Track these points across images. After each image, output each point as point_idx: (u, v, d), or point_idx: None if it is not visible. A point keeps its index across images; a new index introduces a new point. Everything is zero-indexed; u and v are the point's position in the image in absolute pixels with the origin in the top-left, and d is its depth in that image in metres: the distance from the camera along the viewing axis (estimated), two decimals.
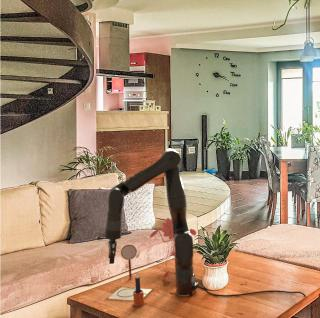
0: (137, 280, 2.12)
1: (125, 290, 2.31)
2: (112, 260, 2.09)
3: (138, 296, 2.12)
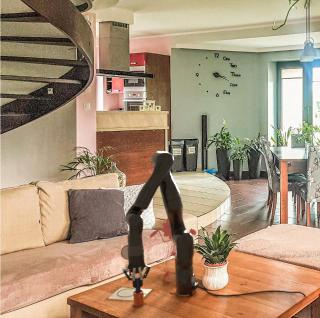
0: (137, 280, 2.12)
1: (125, 290, 2.31)
2: (142, 282, 2.14)
3: (138, 296, 2.12)
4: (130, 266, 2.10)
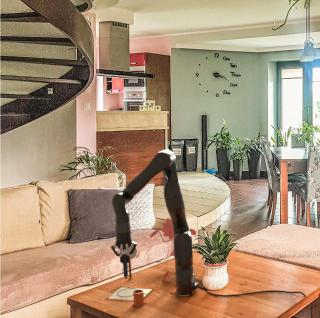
0: (124, 256, 2.27)
1: (125, 290, 2.31)
2: (129, 258, 2.29)
3: (138, 296, 2.12)
4: (118, 243, 2.25)
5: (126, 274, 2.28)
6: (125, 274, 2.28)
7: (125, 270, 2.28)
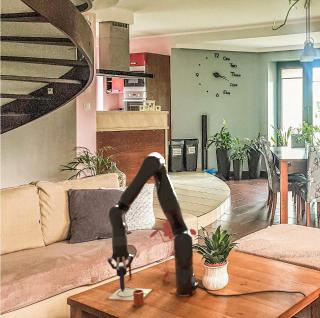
0: (121, 269, 2.24)
1: (125, 290, 2.31)
2: None
3: (138, 296, 2.12)
4: (114, 255, 2.22)
5: (123, 287, 2.25)
6: (122, 287, 2.25)
7: (122, 283, 2.25)
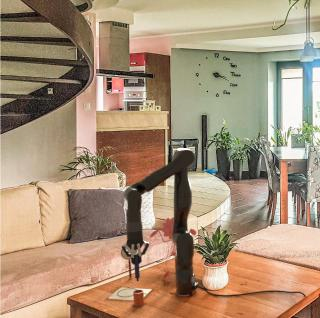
0: (136, 256, 2.11)
1: (125, 290, 2.31)
2: None
3: (138, 296, 2.12)
4: (129, 242, 2.09)
5: (138, 276, 2.12)
6: (137, 276, 2.12)
7: (137, 272, 2.12)
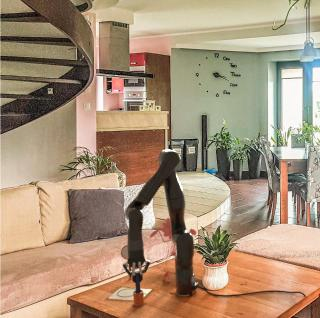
0: (137, 275, 2.12)
1: (125, 290, 2.31)
2: None
3: (138, 296, 2.12)
4: (130, 261, 2.10)
5: None
6: None
7: (138, 290, 2.13)
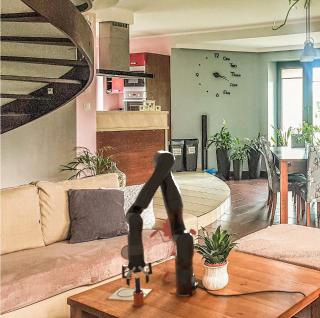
0: (137, 280, 2.12)
1: (125, 290, 2.31)
2: (148, 278, 2.15)
3: (138, 296, 2.12)
4: (130, 265, 2.10)
5: None
6: None
7: None
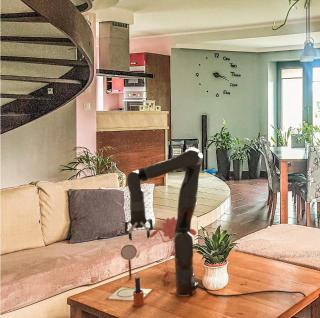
0: (137, 280, 2.12)
1: (125, 290, 2.31)
2: (149, 234, 2.30)
3: (138, 296, 2.12)
4: (132, 221, 2.26)
5: None
6: None
7: None
